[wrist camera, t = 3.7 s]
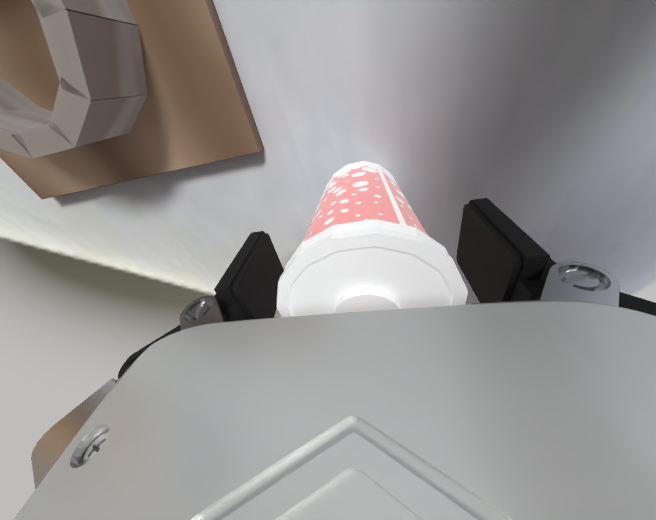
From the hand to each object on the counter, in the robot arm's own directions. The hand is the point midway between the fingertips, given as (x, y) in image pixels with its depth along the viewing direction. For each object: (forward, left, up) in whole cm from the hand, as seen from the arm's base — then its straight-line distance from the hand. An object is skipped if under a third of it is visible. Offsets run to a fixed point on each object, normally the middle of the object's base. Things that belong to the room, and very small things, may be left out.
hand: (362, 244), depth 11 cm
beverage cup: (0, 0, -5) cm, 5 cm away
